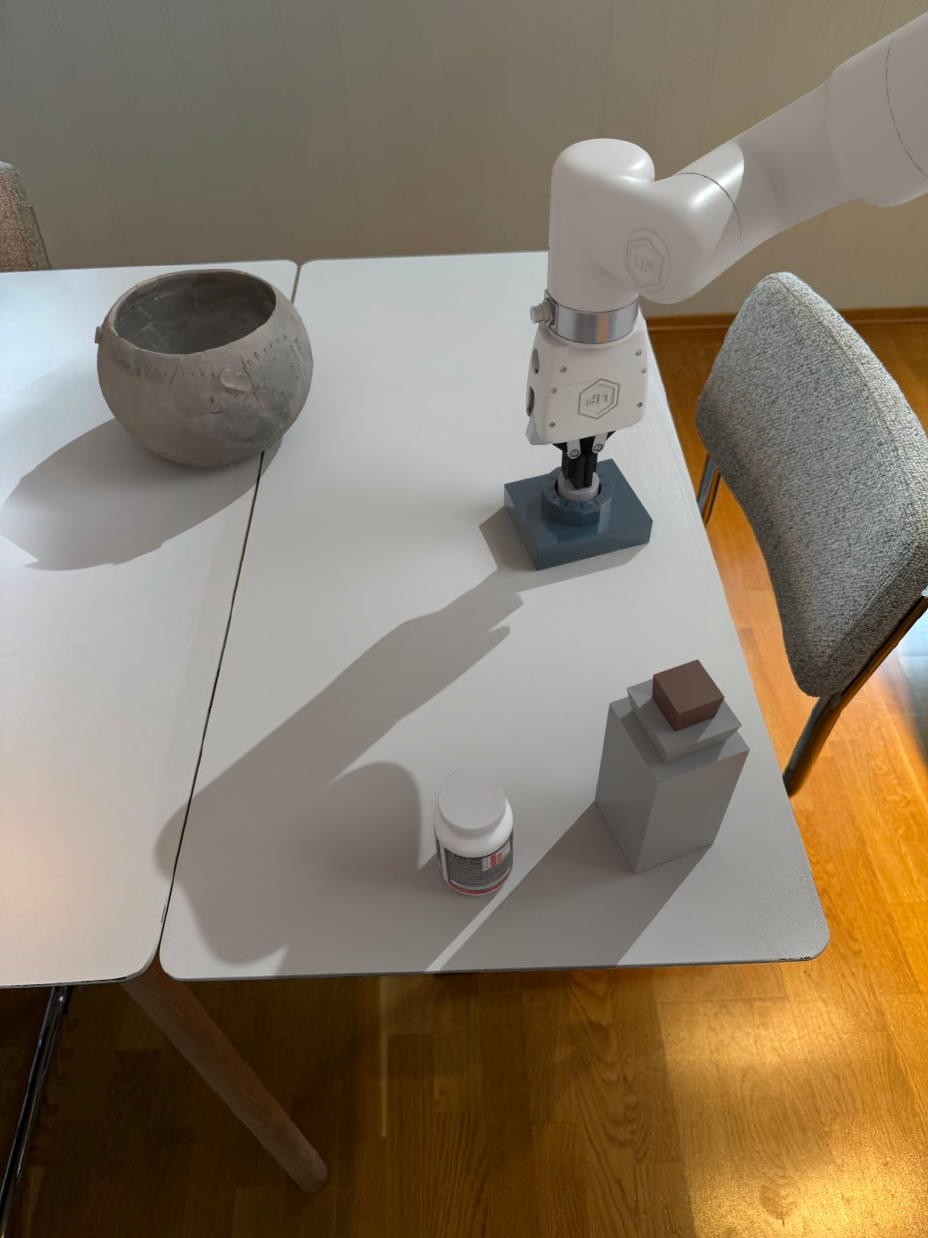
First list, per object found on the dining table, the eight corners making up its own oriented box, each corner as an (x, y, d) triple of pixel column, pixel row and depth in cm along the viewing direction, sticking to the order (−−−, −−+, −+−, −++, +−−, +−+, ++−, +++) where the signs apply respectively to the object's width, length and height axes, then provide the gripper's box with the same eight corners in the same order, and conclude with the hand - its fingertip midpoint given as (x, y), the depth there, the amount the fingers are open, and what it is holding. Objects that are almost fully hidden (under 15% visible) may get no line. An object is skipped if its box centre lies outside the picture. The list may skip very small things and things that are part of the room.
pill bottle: (528, 864, 68) (531, 800, 61) (473, 914, 66) (469, 853, 58) (477, 814, 71) (474, 747, 64) (423, 860, 69) (412, 796, 61)
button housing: (609, 479, 96) (614, 442, 92) (649, 542, 90) (656, 505, 86) (503, 505, 94) (503, 468, 90) (537, 571, 88) (538, 534, 84)
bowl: (364, 408, 106) (347, 290, 94) (222, 518, 94) (183, 399, 83) (228, 346, 115) (198, 232, 104) (84, 439, 104) (32, 323, 92)
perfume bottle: (594, 800, 72) (615, 662, 58) (669, 772, 73) (707, 631, 59) (634, 874, 67) (667, 745, 54) (713, 843, 69) (765, 709, 55)
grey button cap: (588, 478, 91) (589, 462, 89) (604, 503, 88) (605, 488, 87) (551, 487, 90) (551, 471, 88) (565, 513, 87) (567, 497, 86)
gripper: (521, 351, 70) (518, 522, 84) (696, 314, 72) (664, 486, 86) (490, 302, 75) (492, 472, 89) (655, 269, 77) (632, 439, 91)
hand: (577, 478), depth 88 cm, fingers closed
